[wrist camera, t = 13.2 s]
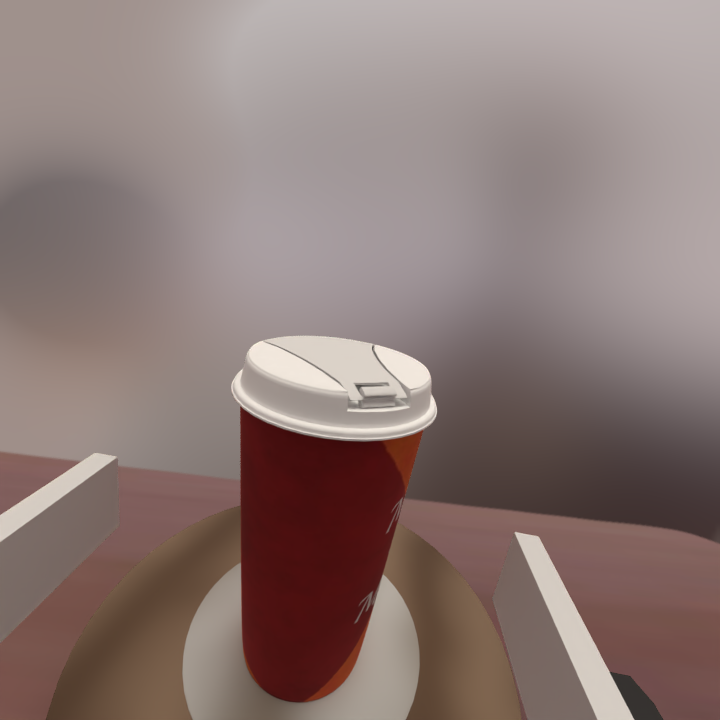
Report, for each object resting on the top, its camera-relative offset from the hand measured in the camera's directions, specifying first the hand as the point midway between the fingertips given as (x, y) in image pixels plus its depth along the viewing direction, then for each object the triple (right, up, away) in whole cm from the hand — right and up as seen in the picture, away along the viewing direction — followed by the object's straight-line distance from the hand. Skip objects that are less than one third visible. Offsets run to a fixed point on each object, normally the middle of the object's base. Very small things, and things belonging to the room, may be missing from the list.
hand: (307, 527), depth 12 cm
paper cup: (-1, -8, +6) cm, 10 cm away
